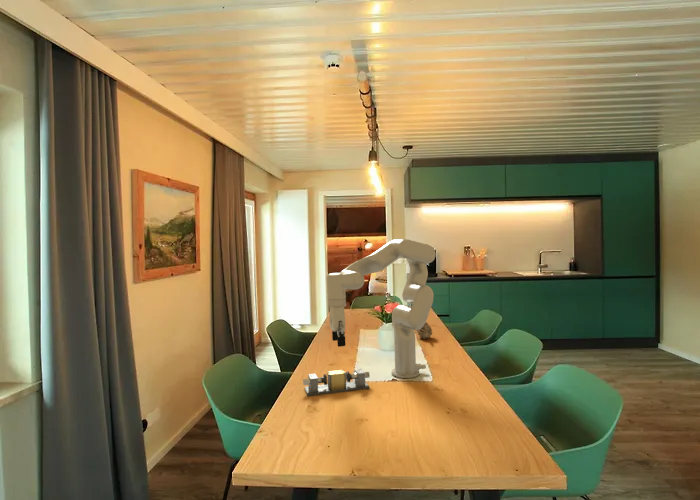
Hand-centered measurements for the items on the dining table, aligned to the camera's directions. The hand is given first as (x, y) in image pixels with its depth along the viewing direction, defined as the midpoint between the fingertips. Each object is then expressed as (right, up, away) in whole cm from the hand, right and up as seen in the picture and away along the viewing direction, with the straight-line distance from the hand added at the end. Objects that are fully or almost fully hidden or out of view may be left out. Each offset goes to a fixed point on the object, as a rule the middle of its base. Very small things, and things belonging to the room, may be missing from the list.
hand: (338, 343), depth 168 cm
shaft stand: (-1, -19, 0) cm, 19 cm away
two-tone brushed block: (-1, -18, 0) cm, 18 cm away
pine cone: (+51, -16, +76) cm, 93 cm away
